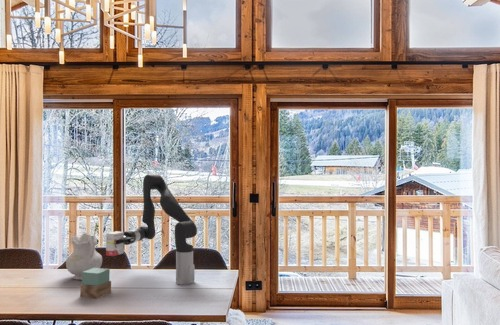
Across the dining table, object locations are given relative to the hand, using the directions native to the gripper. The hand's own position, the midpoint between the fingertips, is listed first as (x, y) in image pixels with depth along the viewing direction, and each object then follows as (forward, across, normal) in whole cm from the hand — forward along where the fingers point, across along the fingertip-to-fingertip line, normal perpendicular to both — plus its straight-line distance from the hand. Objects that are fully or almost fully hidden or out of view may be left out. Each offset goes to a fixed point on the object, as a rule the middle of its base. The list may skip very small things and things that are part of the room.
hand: (112, 242), depth 208 cm
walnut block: (+15, +2, +23) cm, 28 cm away
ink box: (-3, 0, +7) cm, 8 cm away
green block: (+15, +2, +17) cm, 23 cm away
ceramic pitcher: (-9, -25, +23) cm, 35 cm away
